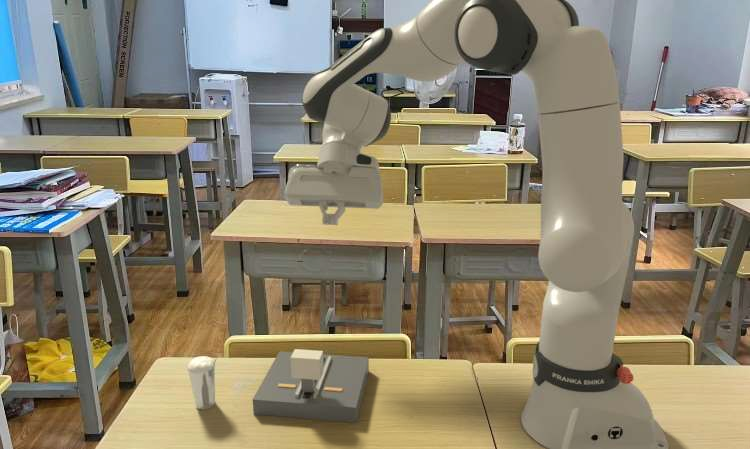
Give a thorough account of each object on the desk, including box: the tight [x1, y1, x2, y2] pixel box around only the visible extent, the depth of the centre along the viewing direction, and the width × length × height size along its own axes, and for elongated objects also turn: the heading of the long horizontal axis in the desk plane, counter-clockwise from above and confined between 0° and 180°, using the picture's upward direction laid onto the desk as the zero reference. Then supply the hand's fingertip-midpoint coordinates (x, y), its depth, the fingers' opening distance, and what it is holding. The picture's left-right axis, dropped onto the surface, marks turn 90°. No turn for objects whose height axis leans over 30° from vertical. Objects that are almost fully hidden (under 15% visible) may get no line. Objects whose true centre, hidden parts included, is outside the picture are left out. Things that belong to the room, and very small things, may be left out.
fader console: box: [252, 351, 370, 424], centre depth 101 cm, size 18×16×4 cm
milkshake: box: [187, 356, 218, 411], centre depth 95 cm, size 5×5×10 cm
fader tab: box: [291, 348, 324, 392], centre depth 95 cm, size 5×3×7 cm, turn 83°
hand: (329, 223), depth 109 cm, fingers closed
